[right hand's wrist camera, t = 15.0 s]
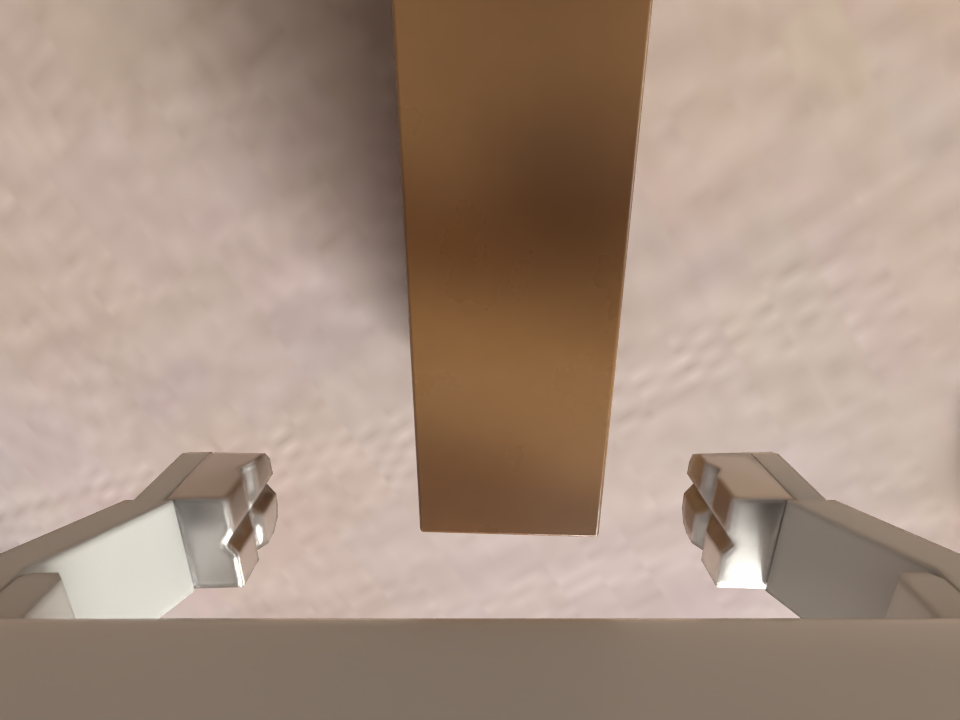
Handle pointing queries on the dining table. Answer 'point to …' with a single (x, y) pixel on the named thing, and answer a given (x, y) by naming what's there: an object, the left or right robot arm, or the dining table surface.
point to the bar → (516, 250)
